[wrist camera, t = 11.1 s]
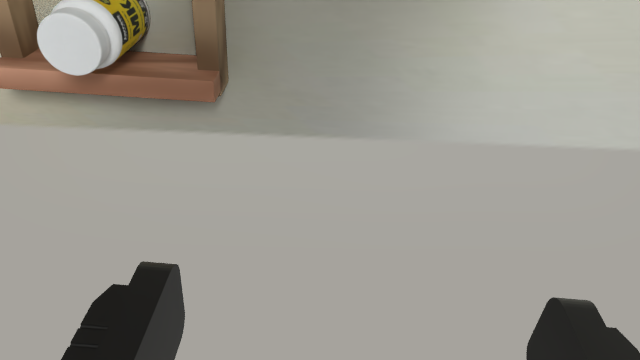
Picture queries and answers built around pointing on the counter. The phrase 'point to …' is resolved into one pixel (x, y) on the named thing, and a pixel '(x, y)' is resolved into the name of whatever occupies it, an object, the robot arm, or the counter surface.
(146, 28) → the supplement bottle
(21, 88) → the guide channel
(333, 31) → the counter surface
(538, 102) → the counter surface
